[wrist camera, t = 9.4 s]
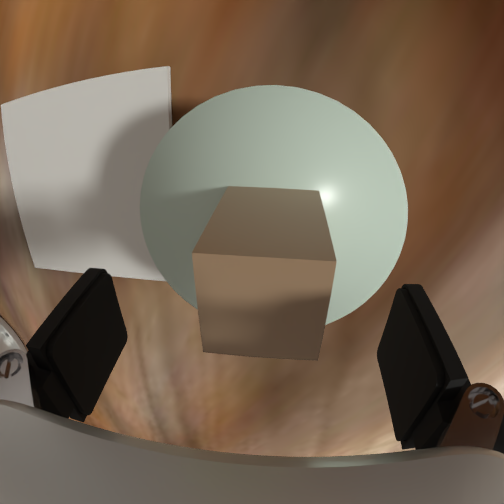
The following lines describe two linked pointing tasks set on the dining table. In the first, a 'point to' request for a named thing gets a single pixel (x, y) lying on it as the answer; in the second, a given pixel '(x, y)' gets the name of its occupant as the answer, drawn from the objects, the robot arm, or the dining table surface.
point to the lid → (272, 217)
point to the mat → (87, 169)
